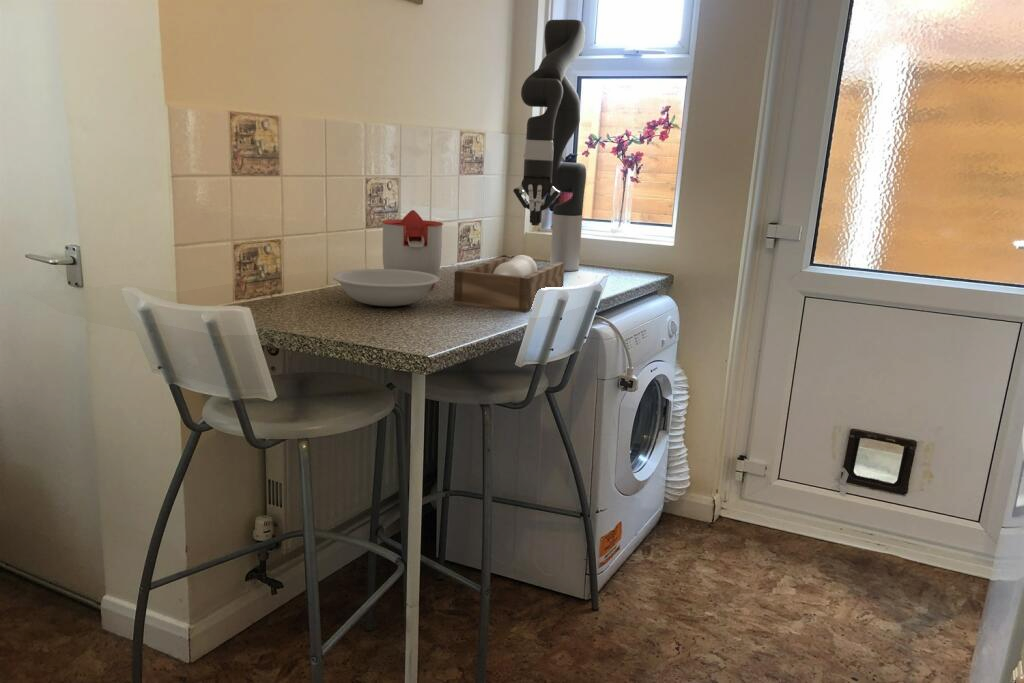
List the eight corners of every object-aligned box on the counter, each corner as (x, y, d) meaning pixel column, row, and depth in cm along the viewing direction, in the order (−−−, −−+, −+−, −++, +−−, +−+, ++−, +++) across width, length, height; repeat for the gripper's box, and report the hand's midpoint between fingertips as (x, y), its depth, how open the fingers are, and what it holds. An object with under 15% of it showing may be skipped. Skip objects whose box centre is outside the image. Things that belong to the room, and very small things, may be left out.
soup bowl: (460, 308, 184) (461, 280, 183) (372, 319, 168) (373, 288, 166) (397, 292, 201) (397, 266, 199) (312, 301, 184) (312, 273, 183)
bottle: (522, 247, 216) (492, 261, 188) (544, 268, 216) (518, 284, 188) (503, 269, 219) (471, 286, 190) (525, 289, 219) (496, 309, 190)
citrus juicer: (383, 293, 198) (384, 212, 193) (378, 282, 214) (379, 206, 210) (446, 294, 202) (449, 213, 197) (437, 282, 218) (439, 208, 214)
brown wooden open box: (498, 285, 218) (500, 257, 217) (562, 292, 213) (564, 262, 211) (453, 304, 189) (454, 271, 187) (526, 312, 183) (528, 278, 182)
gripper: (566, 159, 211) (562, 226, 215) (519, 157, 215) (516, 222, 219) (559, 159, 204) (555, 228, 208) (510, 157, 208) (507, 224, 212)
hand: (535, 225), depth 213 cm, fingers closed
